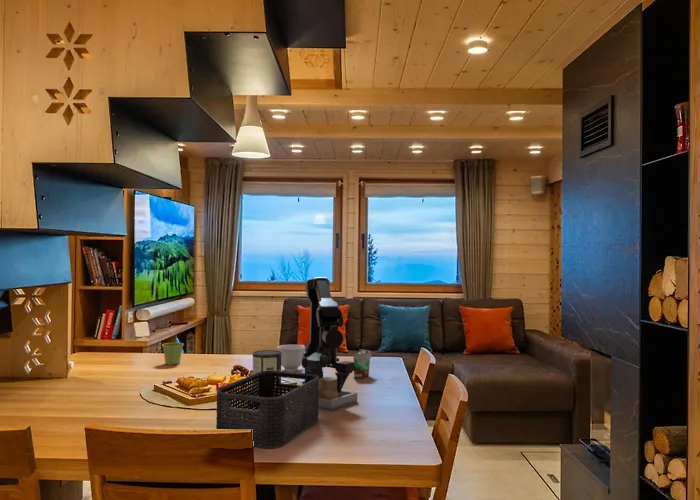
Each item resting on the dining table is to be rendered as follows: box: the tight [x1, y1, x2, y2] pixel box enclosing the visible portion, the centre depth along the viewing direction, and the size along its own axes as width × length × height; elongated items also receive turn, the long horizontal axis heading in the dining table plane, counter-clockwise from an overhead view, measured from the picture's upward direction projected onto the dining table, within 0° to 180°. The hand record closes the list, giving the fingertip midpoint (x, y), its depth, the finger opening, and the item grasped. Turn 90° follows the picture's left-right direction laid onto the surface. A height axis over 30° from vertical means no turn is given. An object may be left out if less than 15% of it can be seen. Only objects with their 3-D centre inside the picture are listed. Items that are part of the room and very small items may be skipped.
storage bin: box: [215, 370, 319, 450], centre depth 154 cm, size 29×19×13 cm
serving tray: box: [318, 389, 358, 412], centre depth 183 cm, size 14×14×3 cm
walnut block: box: [318, 376, 338, 400], centre depth 183 cm, size 5×5×7 cm
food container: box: [353, 348, 373, 380], centre depth 225 cm, size 12×6×10 cm, turn 168°
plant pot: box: [161, 342, 185, 366], centre depth 247 cm, size 9×9×9 cm
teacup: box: [276, 343, 306, 373], centre depth 237 cm, size 12×15×10 cm
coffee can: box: [252, 349, 282, 394], centre depth 197 cm, size 10×10×14 cm
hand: (327, 390), depth 183 cm, fingers open, 9 cm apart
